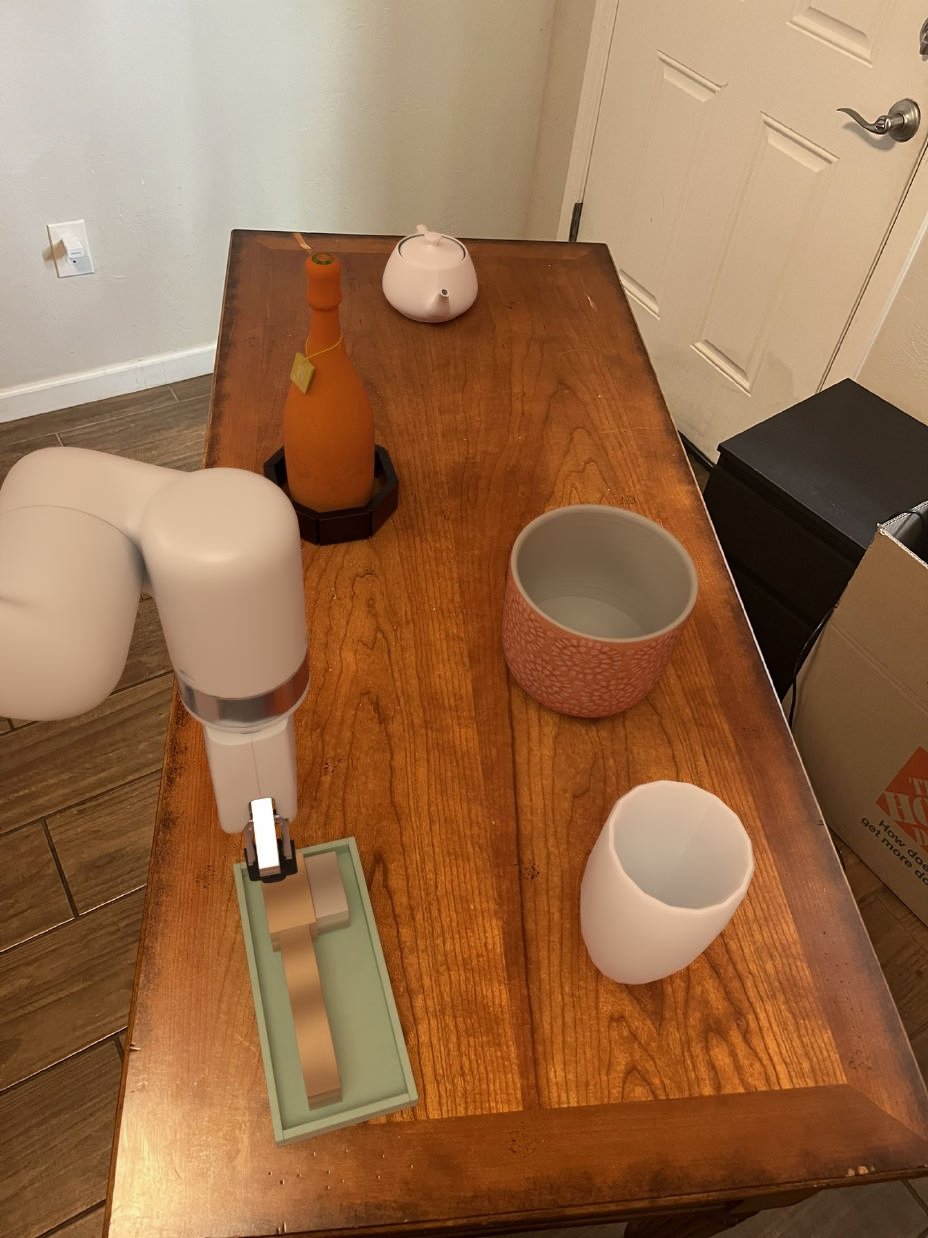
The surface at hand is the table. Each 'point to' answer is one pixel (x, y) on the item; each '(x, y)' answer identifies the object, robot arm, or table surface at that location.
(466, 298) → the teapot
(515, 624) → the planter
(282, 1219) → the table surface
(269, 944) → the tray
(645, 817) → the cup
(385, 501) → the bottle stand
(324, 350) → the wine bottle
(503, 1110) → the table surface
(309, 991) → the brush
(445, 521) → the table surface
